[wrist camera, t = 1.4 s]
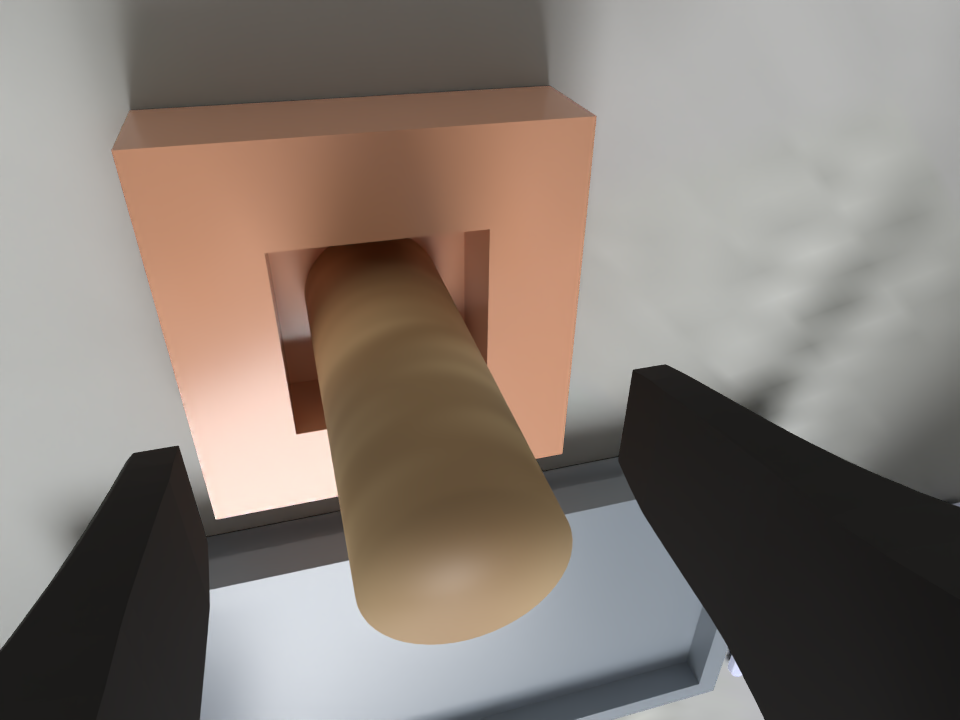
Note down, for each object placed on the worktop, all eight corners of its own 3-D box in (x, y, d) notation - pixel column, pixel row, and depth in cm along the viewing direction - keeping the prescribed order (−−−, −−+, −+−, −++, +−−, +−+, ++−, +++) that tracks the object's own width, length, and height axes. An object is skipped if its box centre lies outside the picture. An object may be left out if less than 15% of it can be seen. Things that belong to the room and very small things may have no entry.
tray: (755, 430, 23) (790, 466, 22) (690, 651, 30) (713, 690, 28) (81, 561, 18) (68, 620, 17) (185, 788, 25) (182, 844, 24)
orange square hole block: (549, 85, 15) (596, 116, 13) (530, 397, 19) (562, 453, 18) (129, 110, 13) (111, 150, 11) (217, 450, 18) (215, 519, 16)
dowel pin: (437, 223, 15) (582, 468, 9) (440, 340, 17) (563, 615, 11) (296, 238, 15) (343, 514, 8) (313, 358, 16) (363, 665, 10)
